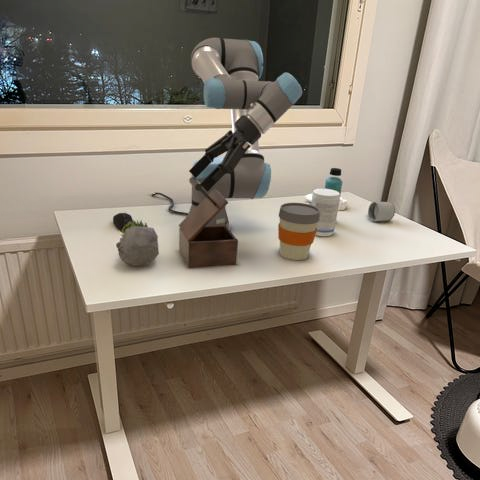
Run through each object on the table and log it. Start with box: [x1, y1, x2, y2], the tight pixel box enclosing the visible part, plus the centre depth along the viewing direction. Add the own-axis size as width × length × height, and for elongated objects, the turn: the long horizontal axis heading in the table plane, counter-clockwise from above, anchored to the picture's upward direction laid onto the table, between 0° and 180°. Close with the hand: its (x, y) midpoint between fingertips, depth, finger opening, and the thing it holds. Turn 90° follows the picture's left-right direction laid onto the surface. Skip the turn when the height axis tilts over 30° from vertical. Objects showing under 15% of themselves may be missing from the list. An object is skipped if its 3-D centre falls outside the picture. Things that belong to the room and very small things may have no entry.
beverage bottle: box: [324, 167, 343, 201], centre depth 178 cm, size 6×7×20 cm
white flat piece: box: [304, 192, 348, 211], centre depth 202 cm, size 3×18×15 cm
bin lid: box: [178, 176, 229, 242], centre depth 135 cm, size 15×13×9 cm
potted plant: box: [115, 218, 160, 267], centre depth 137 cm, size 12×13×15 cm
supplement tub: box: [310, 188, 341, 237], centre depth 168 cm, size 10×10×15 cm
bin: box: [178, 225, 239, 269], centre depth 143 cm, size 15×13×8 cm
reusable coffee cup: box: [277, 202, 320, 261], centre depth 148 cm, size 13×12×15 cm
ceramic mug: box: [367, 200, 396, 222], centre depth 188 cm, size 11×8×8 cm
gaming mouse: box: [112, 212, 133, 231], centre depth 162 cm, size 6×15×4 cm, turn 22°
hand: (197, 181), depth 132 cm, fingers open, 13 cm apart
